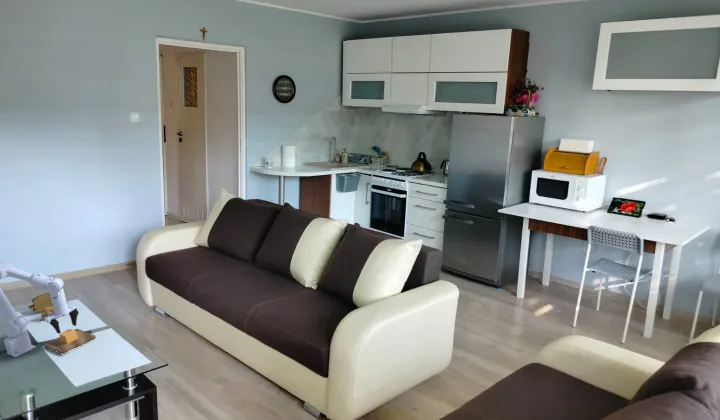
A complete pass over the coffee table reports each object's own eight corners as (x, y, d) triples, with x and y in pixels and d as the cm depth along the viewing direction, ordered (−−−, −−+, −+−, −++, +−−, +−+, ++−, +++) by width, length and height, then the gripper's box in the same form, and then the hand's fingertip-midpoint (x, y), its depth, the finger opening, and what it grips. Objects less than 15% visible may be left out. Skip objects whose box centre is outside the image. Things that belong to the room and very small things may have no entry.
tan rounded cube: (67, 343, 242) (65, 336, 241) (61, 341, 245) (59, 334, 244) (78, 338, 246) (76, 331, 245) (72, 336, 249) (69, 328, 248)
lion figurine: (69, 310, 280) (65, 295, 277) (72, 313, 276) (67, 298, 274) (39, 320, 271) (34, 305, 268) (41, 324, 267) (36, 308, 264)
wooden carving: (61, 302, 290) (57, 286, 287) (64, 304, 287) (60, 288, 284) (29, 315, 278) (24, 298, 275) (32, 317, 275) (27, 300, 272)
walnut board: (63, 355, 236) (61, 347, 234) (45, 347, 244) (42, 339, 243) (96, 338, 248) (94, 330, 247) (77, 331, 257) (75, 323, 255)
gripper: (48, 312, 232) (56, 338, 236) (79, 298, 244) (86, 323, 248) (40, 308, 236) (48, 334, 240) (71, 295, 247) (77, 320, 251)
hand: (66, 329), depth 244 cm, fingers open, 7 cm apart
